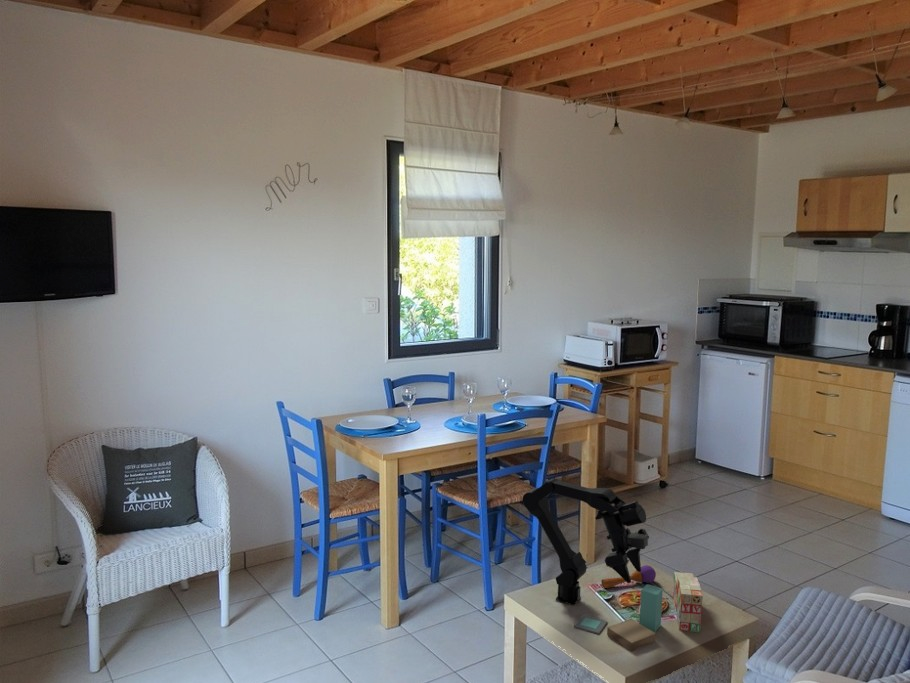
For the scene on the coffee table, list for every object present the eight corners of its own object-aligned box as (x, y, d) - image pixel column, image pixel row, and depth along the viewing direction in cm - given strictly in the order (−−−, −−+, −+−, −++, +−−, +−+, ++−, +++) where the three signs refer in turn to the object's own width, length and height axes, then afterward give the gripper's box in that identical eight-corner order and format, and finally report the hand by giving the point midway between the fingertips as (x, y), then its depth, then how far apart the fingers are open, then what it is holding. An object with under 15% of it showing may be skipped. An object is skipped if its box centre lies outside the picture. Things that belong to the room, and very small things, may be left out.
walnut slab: (606, 636, 218) (607, 627, 218) (630, 627, 223) (631, 618, 223) (631, 652, 210) (631, 642, 209) (655, 642, 215) (656, 633, 215)
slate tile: (573, 627, 222) (573, 625, 222) (582, 615, 229) (582, 614, 229) (598, 634, 218) (598, 632, 218) (607, 622, 225) (607, 620, 225)
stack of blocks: (672, 597, 242) (674, 562, 240) (691, 599, 241) (694, 564, 239) (679, 631, 221) (681, 593, 220) (700, 633, 220) (702, 595, 218)
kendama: (598, 573, 251) (648, 561, 257) (600, 590, 250) (650, 578, 256) (607, 577, 245) (657, 565, 251) (609, 595, 245) (660, 583, 251)
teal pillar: (639, 626, 223) (641, 590, 221) (645, 620, 227) (647, 584, 225) (654, 632, 220) (656, 595, 219) (660, 625, 224) (662, 588, 223)
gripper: (628, 533, 216) (648, 584, 214) (648, 514, 231) (667, 561, 229) (596, 540, 222) (615, 590, 220) (618, 521, 237) (636, 567, 235)
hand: (634, 577), depth 226 cm, fingers open, 9 cm apart
